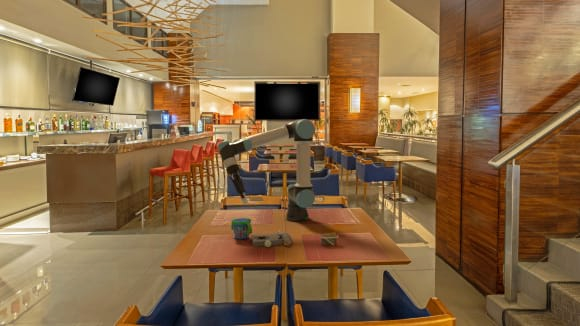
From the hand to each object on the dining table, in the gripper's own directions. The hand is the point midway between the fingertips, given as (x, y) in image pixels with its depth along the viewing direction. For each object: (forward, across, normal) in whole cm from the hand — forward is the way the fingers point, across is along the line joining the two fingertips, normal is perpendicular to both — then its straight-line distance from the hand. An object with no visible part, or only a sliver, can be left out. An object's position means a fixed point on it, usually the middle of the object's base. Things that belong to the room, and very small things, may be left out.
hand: (245, 203), depth 245 cm
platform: (+40, +9, +36) cm, 55 cm away
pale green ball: (+28, +19, +9) cm, 35 cm away
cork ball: (+31, +15, +18) cm, 38 cm away
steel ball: (+24, +8, +14) cm, 29 cm away
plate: (+26, +9, +8) cm, 29 cm away
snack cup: (+18, +4, -8) cm, 20 cm away
